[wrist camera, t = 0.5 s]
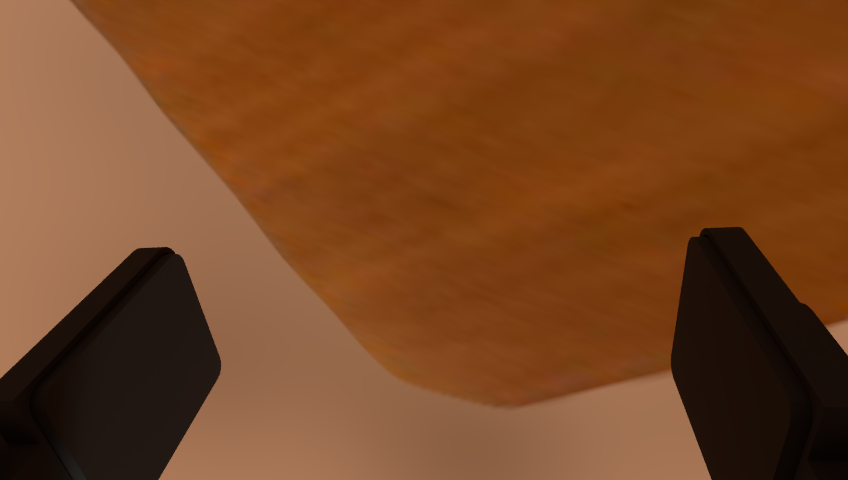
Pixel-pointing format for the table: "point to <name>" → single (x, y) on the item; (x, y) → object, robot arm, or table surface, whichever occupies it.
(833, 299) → the table surface
